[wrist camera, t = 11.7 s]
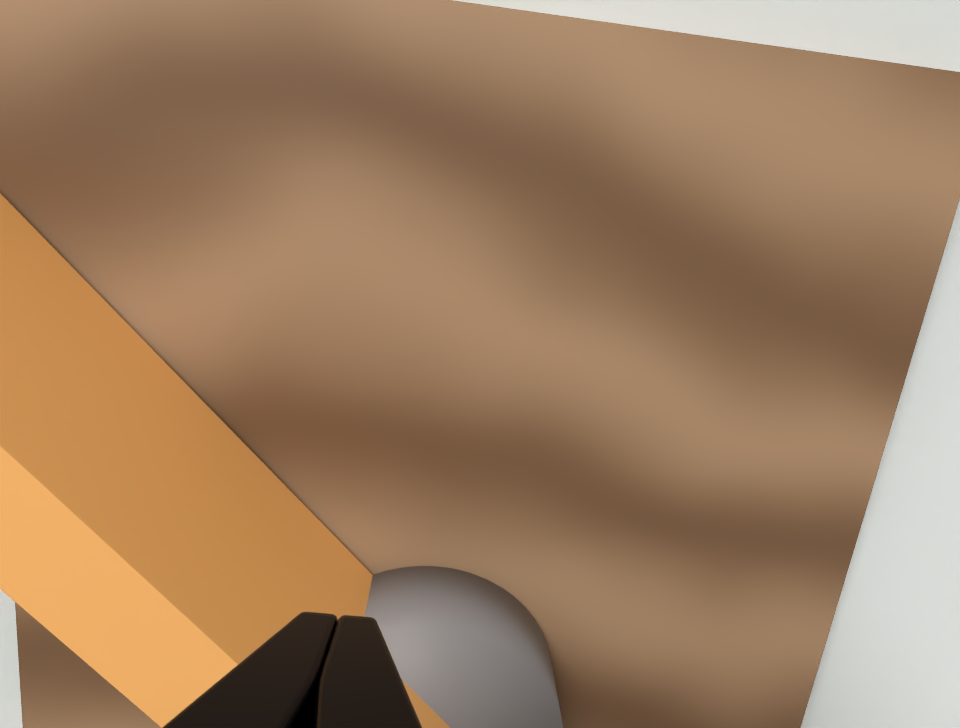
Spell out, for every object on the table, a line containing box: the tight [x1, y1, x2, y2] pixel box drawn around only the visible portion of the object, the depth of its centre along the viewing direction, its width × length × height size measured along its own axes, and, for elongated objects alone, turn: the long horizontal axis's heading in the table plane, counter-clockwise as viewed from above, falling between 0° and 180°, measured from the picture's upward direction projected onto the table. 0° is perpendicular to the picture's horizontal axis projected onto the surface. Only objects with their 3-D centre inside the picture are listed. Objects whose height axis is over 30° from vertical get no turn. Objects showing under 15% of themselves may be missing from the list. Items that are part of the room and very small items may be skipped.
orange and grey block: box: [0, 194, 563, 728], centre depth 16 cm, size 20×7×6 cm, turn 39°
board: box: [0, 0, 960, 728], centre depth 20 cm, size 22×22×2 cm
